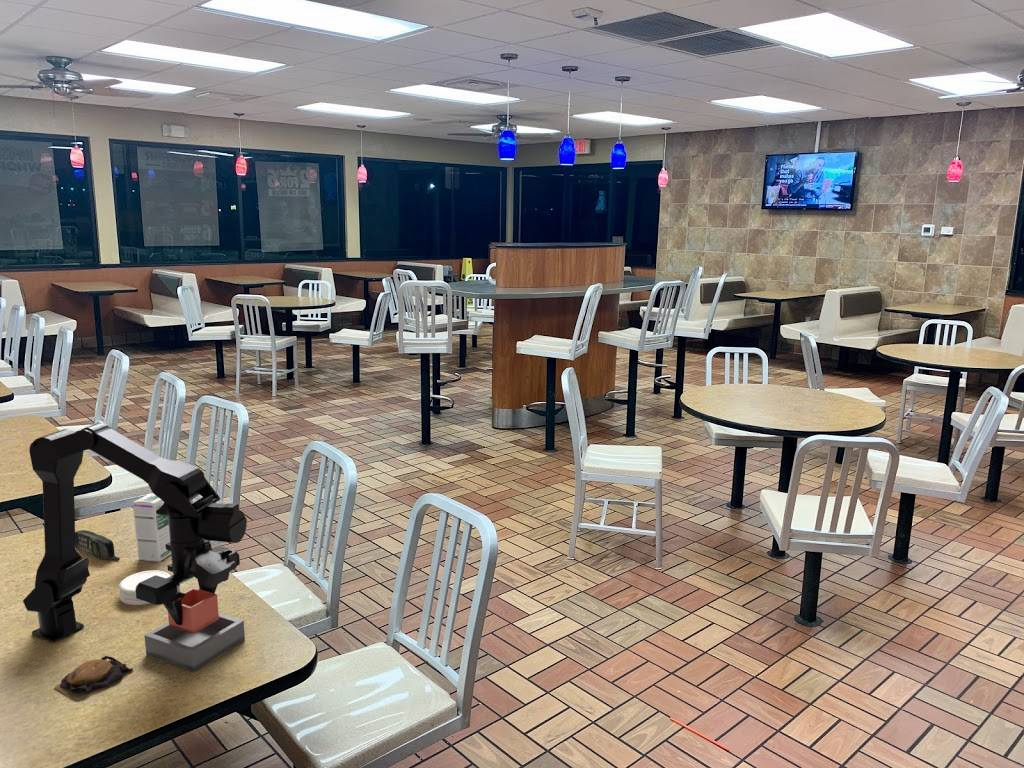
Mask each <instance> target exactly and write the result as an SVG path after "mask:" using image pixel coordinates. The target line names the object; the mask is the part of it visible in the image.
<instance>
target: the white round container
mask: <svg viewBox="0 0 1024 768" xmlns="http://www.w3.org/2000/svg"><path fill="white" fill-rule="evenodd" d="M155 575H157V576H160V577H163V578H168V577H170V576H171V575H170V574H169V573H168V572H166V571H163V570H155V569H154V570H143V571H139V572H137V573H132V574H130V575H128V576H127V577H125V578H124V579H122V580H121V581H120V582H119V585H118V589H119V590H118V591H119V592H118V593H119V600H120V601H121V602H122V603H123V604H124V605H125V604H126V605H128V606H144V605H146V606H147V605H150V604H152V603H149V602H146V601H143V600H140V599H137V598H136V586H137V585H138V584H139V583H140V582H142V581H144V580H146V579H149V578H151V577H153V576H155Z"/></svg>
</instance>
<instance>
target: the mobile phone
mask: <svg viewBox="0 0 1024 768" xmlns="http://www.w3.org/2000/svg"><path fill="white" fill-rule="evenodd" d="M75 546H76V550H77V551H80V552H83V553H85V554H88V555H90V556H92V557H94V558H96V559H98V560H99V559H100V560H109V559H113V560H116V561H120V560H121V558H120V557H118V556H116V554H115V545H114V543H113V541H112V540H111V539H110V538H108V537H107V536H106V537H105V536H103V535H100V534H99V533H96V532H93V531H91V530H84V529H81V530H77V531H75Z"/></svg>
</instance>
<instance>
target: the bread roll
mask: <svg viewBox="0 0 1024 768" xmlns="http://www.w3.org/2000/svg"><path fill="white" fill-rule="evenodd" d="M134 672H135V671H134V668H129V667H128V666H127V664H126V663H122V662H121V661H120V660H117V659H116V658H114V657H112V656H108V655H104V656H103V657H101V658H100V659H99V658H96V659H90V660H87V661H84V662H83V663H81V664H79V665H78V666H77V667H75V668H74V669H73V671H71V672H70V673H67V674H66V675H65V676H64V678H62V679H61V681H60V683H58V684H57V685H55V686H54V688H53V689H54V690H55V691H57V692H58V693H60V694H62V695H64V696H66V697H67V698H70V699H71V700H73V701H75V702H81V701H84V700H85V699H88V698H89V697H91V696H94V695H95V694H97V693H100V692H101V691H103V690H105V689H108V688H109V687H112V686H113V685H114V684H116V683H118V682H120V681H122V680H123V679H125V678H127V677H128V676H130V675H132V674H133V673H134Z"/></svg>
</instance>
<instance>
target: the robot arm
mask: <svg viewBox="0 0 1024 768" xmlns="http://www.w3.org/2000/svg"><path fill="white" fill-rule="evenodd" d="M28 451H29V456H30V461H31V468H32V470H33V472H35V474H36V476H38V478H39V479H40V480H41V482H42V501H43V502H42V504H43V506H42V507H43V531H44V555H43V557H42V559H41V561H40V563H39V565H38V568H37V570H36V574H35V581H34V588H33V589H32V590H31V591H30V592H29V594H27V596H26V597H25V598H24V599H23V600H22V602H23V603H22V604H24V607H25V609H26V611H27V612H33V613H34V612H36V613H37V618H38V625H39V627H38V628H36V629H33V630H32V631H31V634H32V636H35V637H38V638H40V639H43V640H45V641H48V642H51V643H55V642H57V641H58V640H61V639H62V638H65V637H66V636H69V635H71V634H73V633H75V632H76V631H79V630H81V629H83V628H85V625H84V623H82V622H78V621H77V619H76V613H75V611H76V610H75V607H74V606H75V604H74V601H73V597H75V596H76V595H78V594H80V593H82V589H83V585H85V584H86V582H87V580H88V578H89V577H90V576H91V574H90V570H89V563H90V559H89V557H88V556H87V557H86V556H82V555H81V553H80V552H79V551H78V549H76V545H75V532H76V520H75V519H76V516H75V515H76V513H75V477H76V475H77V473H78V471H79V469H80V467H81V464H83V457H84V451H91V452H94V453H95V454H96V455H99V456H100V457H102V458H104V459H106V460H107V461H109V462H110V463H112V464H114V465H116V466H118V467H120V468H122V469H123V470H125V471H127V472H128V473H130V474H132V475H134V476H136V477H137V478H139V479H141V480H143V481H144V482H145V483H146V484H147V485H148V487H149V489H150V491H151V493H152V494H155V495H156V496H157V497H158V498H160V499H161V500H162V501H164V504H163V505H162V506H161V507H160V508H159V509H158V510H157V511H156V514H160V515H168V522H169V534H170V542H169V543H167V544H165V545H166V550H170V551H171V554H170V555H171V556H170V557H171V563H169V564H167V566H166V567H167V571H168V572H171V573H172V574H173V575H170V577H168V578H163V577H160V576H157V575H155V576H153V577H151V578H149V579H146V580H144V581H142V582H140V583H139V584H138V585H137V586H136V598H137V599H140V600H143V601H146V602H149V603H151V604H152V605H155V606H159V605H163V606H164V608H165V609H166V610H167V613H168V612H169V614H170V615H171V617H172V618H173V620H174V621H175V623H176V624H177V625H182V620H183V615H182V602H181V601H182V599H183V598H184V596H185V595H186V594H184V592H181V589H180V587H181V584H184V583H187V582H188V581H190V580H192V579H194V578H196V580H197V582H198V589H201V590H204V591H208V592H211V593H214V594H216V590H217V588H218V585H219V584H221V583H223V582H227V581H228V580H229V577H230V574H231V572H232V571H233V570H235V569H237V567H238V566H240V565H241V563H240V562H241V558H240V554H239V552H238V551H237V550H235V549H234V548H231V547H230V548H228V547H224V546H220V545H217V546H215V547H213V548H212V543H211V541H212V542H223V543H230V544H231V543H232V544H238V543H240V542H241V541H242V539H243V538H244V537H245V534H246V531H247V526H248V525H247V524H248V522H247V517H246V515H245V512H244V511H242V510H241V509H240V505H239V504H238V503H233V502H232V503H219V501H220V500H221V498H220V495H219V494H218V493H217V492H216V490H215V489H214V487H212V485H211V484H210V483H209V481H208V480H207V479H206V477H205V473H204V471H203V470H202V469H200V468H199V467H198V466H195V465H192V464H189V463H188V462H184V461H181V460H176V459H175V460H173V459H168V458H164V457H163V456H160V455H159V454H156V453H155V452H152V451H151V450H150V449H147V448H145V447H144V446H142V445H140V444H139V443H137V442H135V441H133V440H132V439H130V438H128V437H127V436H125V435H123V434H121V433H119V432H118V431H116V430H114V429H112V427H111V426H110V425H109V424H108V423H104V422H97V423H95V424H92V425H89V426H85V427H84V428H81V429H79V430H76V431H75V430H73V429H71V428H64V429H60V430H57V431H55V432H52V433H49V434H46V435H43V436H40V437H38V438H36V439H34V440H33V441H32V442H31V443H30V445H29V450H28ZM198 496H201V497H200V498H199V499H197V500H196V501H194V502H192V503H191V501H192V500H194V499H195V498H197V497H198Z"/></svg>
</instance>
